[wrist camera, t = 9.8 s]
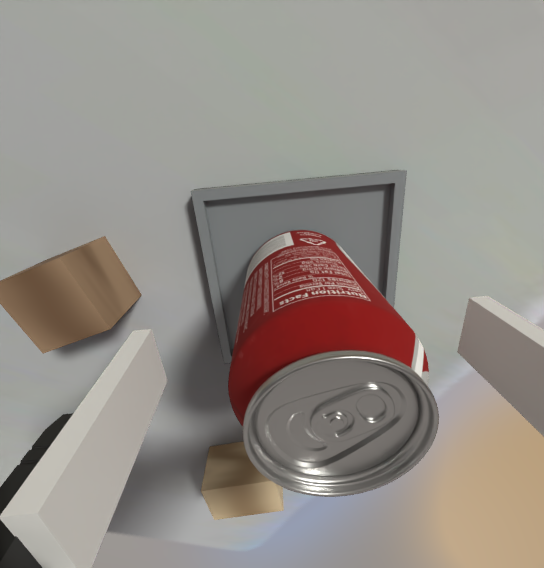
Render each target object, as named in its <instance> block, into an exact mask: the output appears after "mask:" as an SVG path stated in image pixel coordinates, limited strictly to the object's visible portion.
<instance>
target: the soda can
mask: <svg viewBox="0 0 544 568" xmlns="http://www.w3.org/2000/svg"><path fill="white" fill-rule="evenodd" d="M428 378H429V370H428V362H427V357H426V354H425V351H424V348H423V346H422V344H421V342H420V340H419V338H418V337H417V336H416V334H415V333H414V331H413V330H412V329H411V328H410V327H409V325H408V324H407V323H406V322H405V321H404V320H403V318H402V317H401V316H400V315H399V314H398V313H397V312H396V310H395V309H394V308H393V307H392V306H391V305H390V303H389V302H388V301H387V300H386V299H385V298H384V296H383V295H382V294H381V293H380V292H379V291H378V290H377V288H376V287H375V286H374V285H373V284H372V283H371V281H370V280H369V279H368V278H367V277H366V276H365V274H364V273H363V272H362V271H361V270H360V269H359V268H358V266H357V265H356V264H355V263H354V262H353V261H352V259H351V258H350V257H349V256H348V255H347V254H346V252H345V251H344V250H343V249H342V248H341V247H340V246H339V245H338V244H337V243H336V242H335V241H334V240H333V239H331V238H330V237H328V236H326V235H324V234H322V233H319V232H316V231H311V230H291V231H286V232H283V233H280V234H278V235H276V236H274V237H272V238H270V239H269V240H267V241H266V242H265V243H264V244H263V245H262V246H261V247H260V248H259V249H258V250H257V251H256V252H255V254H254V255H253V257H252V259H251V261H250V264H249V266H248V270H247V275H246V281H245V286H244V292H243V298H242V304H241V309H240V315H239V321H238V326H237V332H236V338H235V344H234V349H233V355H232V361H231V366H230V372H229V381H228V390H229V397H230V402H231V405H232V408H233V411H234V413H235V415H236V417H237V419H238V420H239V422H240V424H241V425H242V426H243V441H244V446H245V450H246V452H247V455H248V457H249V459H250V460H251V462H252V463H253V465H254V466H255V467H256V469H257V470H258V471H259V472H260V473H261V474H262V475H264V476H265V477H266V478H268V479H269V480H271V481H272V482H274V483H275V484H277V485H279V486H281V487H284V488H286V489H288V490H291V491H294V492H298V493H302V494H307V495H313V496H325V497H335V496H347V495H354V494H359V493H363V492H367V491H370V490H373V489H376V488H379V487H381V486H384V485H386V484H388V483H390V482H392V481H394V480H396V479H398V478H399V477H401V476H402V475H404V474H405V473H407V472H408V471H409V470H411V469H412V468H413V467H414V466H415V465H416V464H417V463H418V462H419V461H420V460H421V459H422V458H423V457H424V456H425V454H426V453H427V452H428V450H429V449H430V447H431V445H432V443H433V441H434V439H435V436H436V433H437V429H438V424H439V414H438V407H437V403H436V401H435V398H434V396H433V394H432V392H431V390H430V389H429V387H428Z"/></svg>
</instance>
